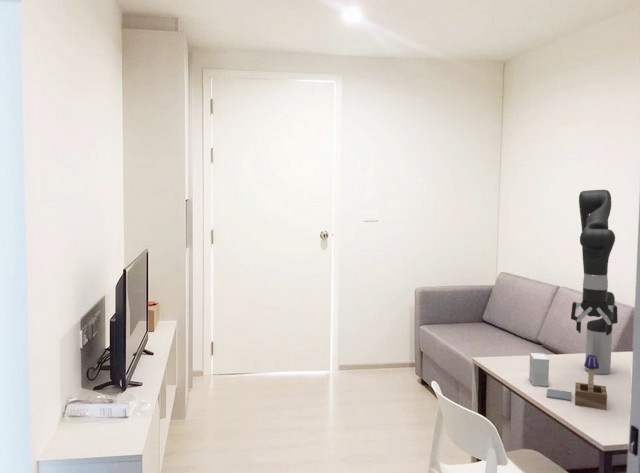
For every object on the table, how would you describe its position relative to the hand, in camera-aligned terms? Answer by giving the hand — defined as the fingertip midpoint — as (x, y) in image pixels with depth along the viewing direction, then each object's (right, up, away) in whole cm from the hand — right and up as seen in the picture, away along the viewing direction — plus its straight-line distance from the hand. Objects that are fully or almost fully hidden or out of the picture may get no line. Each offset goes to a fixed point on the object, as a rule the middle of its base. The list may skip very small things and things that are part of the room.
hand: (593, 333), depth 187 cm
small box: (-10, -23, +22) cm, 33 cm away
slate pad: (-8, -24, +8) cm, 26 cm away
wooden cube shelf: (0, -24, +2) cm, 24 cm away
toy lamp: (0, -25, +2) cm, 25 cm away
